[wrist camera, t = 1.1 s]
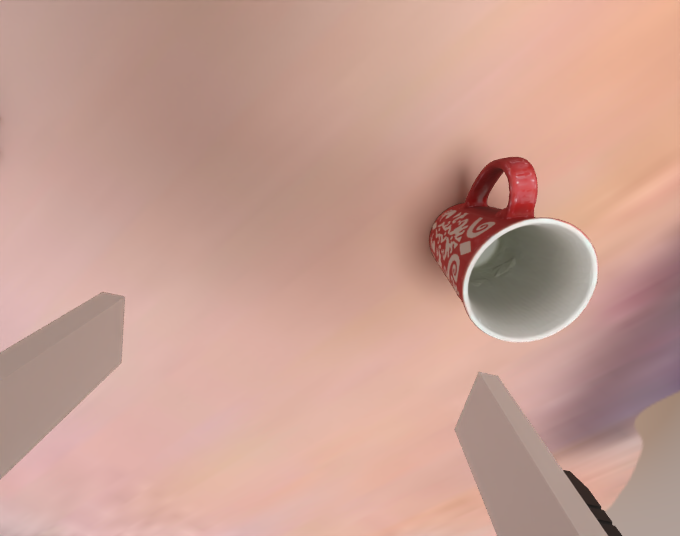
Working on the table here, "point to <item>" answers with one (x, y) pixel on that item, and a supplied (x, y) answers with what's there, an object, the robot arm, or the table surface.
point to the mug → (514, 259)
